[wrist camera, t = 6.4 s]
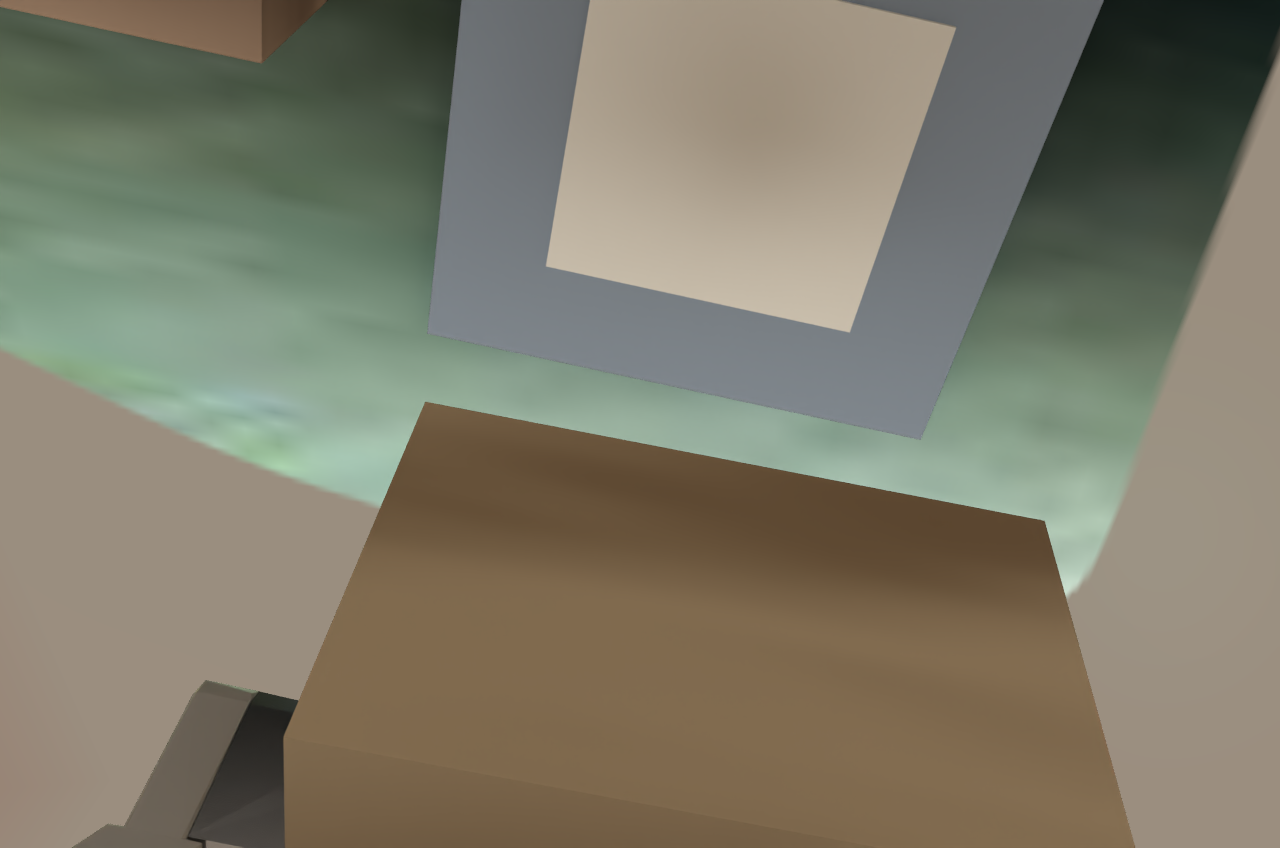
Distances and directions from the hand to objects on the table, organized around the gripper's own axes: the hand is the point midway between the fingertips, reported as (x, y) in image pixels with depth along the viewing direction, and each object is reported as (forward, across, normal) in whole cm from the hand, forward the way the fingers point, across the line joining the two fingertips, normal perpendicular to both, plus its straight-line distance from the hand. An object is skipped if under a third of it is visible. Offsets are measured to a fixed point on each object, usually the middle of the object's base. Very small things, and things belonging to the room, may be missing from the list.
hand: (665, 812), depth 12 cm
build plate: (+17, 0, 0) cm, 17 cm away
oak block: (+2, 0, 0) cm, 2 cm away
